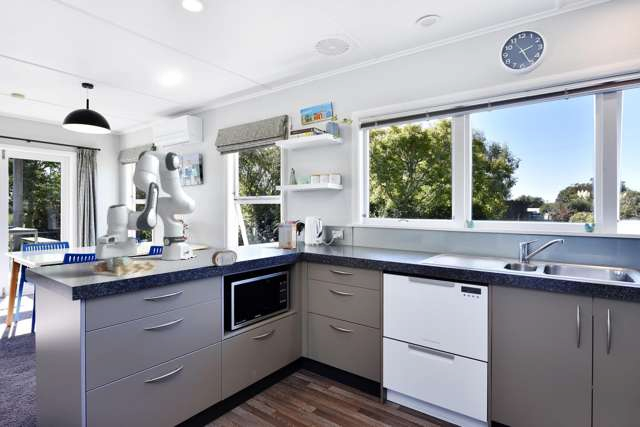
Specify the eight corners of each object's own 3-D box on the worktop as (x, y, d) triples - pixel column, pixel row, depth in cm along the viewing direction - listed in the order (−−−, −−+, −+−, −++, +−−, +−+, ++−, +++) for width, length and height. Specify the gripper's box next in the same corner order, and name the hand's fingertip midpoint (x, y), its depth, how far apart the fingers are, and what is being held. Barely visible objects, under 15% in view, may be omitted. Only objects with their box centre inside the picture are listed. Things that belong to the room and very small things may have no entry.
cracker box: (296, 249, 280) (296, 223, 280) (292, 249, 275) (292, 223, 275) (282, 247, 287) (283, 223, 287) (278, 248, 282) (278, 223, 282)
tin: (234, 263, 197) (234, 249, 197) (237, 264, 195) (237, 249, 195) (211, 266, 186) (211, 251, 186) (214, 267, 184) (214, 251, 184)
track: (131, 266, 183) (132, 257, 183) (155, 268, 178) (155, 259, 178) (92, 273, 162) (92, 263, 162) (117, 276, 157) (117, 265, 157)
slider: (112, 268, 169) (112, 256, 169) (130, 270, 166) (130, 257, 166) (104, 269, 166) (104, 257, 166) (123, 271, 162) (123, 258, 162)
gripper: (130, 236, 176) (130, 262, 176) (92, 239, 157) (92, 269, 157) (140, 236, 174) (140, 263, 174) (102, 239, 155) (102, 270, 155)
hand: (117, 266), depth 166 cm, fingers open, 4 cm apart
